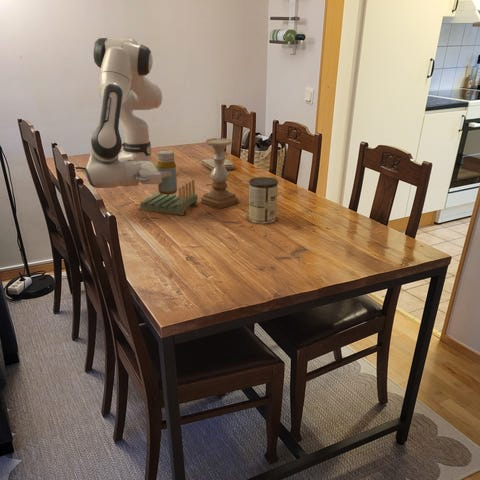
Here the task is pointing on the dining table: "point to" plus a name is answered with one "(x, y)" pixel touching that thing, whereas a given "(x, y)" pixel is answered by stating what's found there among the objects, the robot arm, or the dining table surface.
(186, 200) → the rack
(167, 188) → the bottle
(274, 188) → the coffee can
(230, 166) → the washcloth
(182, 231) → the dining table surface
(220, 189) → the candle holder
